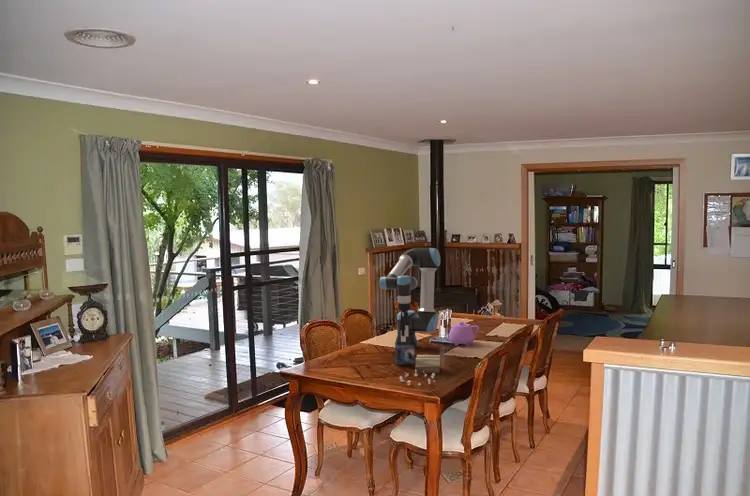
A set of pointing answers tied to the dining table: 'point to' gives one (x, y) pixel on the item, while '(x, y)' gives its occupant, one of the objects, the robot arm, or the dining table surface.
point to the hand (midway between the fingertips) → (404, 339)
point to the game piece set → (417, 375)
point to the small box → (405, 355)
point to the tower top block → (428, 360)
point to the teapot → (462, 334)
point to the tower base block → (427, 369)
